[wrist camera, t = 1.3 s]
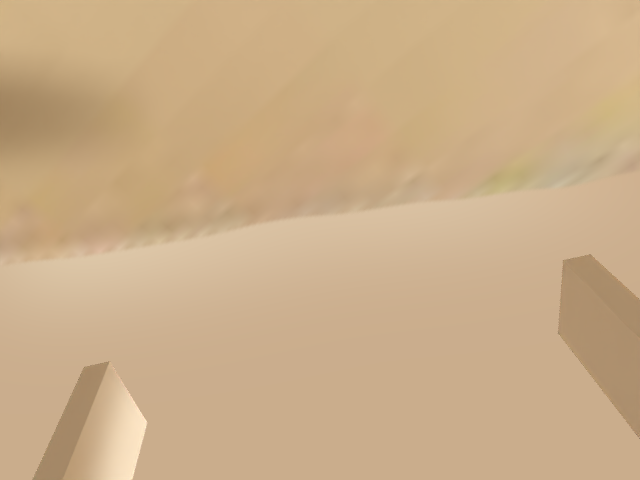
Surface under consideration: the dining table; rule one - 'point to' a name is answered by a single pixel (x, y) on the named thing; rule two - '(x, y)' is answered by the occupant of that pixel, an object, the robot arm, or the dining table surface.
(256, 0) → the dining table surface
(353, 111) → the dining table surface
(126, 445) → the robot arm
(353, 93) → the dining table surface
